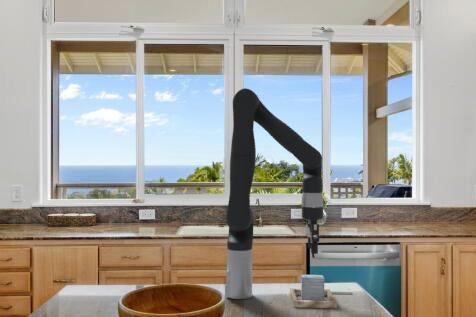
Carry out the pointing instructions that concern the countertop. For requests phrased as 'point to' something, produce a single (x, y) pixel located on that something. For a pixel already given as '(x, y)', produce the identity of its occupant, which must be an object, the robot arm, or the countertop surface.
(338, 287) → the sage mat
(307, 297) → the medicine box
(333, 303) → the pocket tray
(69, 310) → the countertop surface
